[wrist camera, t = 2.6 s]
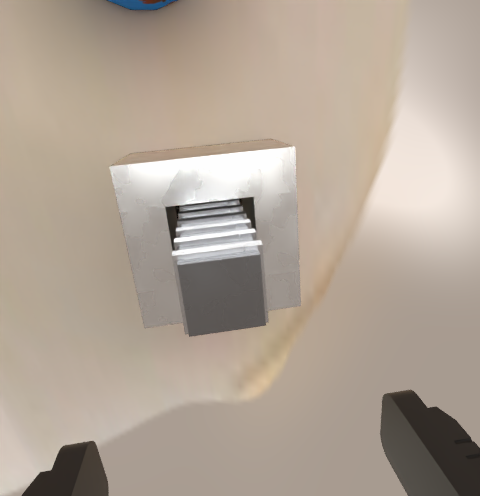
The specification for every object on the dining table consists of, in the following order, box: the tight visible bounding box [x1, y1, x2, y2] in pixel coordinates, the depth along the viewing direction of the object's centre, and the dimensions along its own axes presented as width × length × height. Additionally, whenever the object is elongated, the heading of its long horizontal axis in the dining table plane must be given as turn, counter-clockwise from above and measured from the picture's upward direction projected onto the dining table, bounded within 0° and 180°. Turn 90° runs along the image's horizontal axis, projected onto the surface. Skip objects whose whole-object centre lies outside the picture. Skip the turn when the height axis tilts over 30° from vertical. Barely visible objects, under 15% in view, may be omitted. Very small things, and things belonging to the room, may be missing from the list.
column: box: [172, 199, 268, 337], centre depth 25 cm, size 4×4×16 cm
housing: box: [109, 139, 301, 328], centre depth 29 cm, size 13×12×8 cm
